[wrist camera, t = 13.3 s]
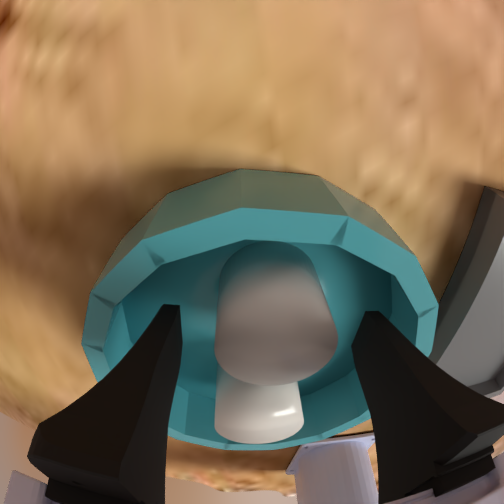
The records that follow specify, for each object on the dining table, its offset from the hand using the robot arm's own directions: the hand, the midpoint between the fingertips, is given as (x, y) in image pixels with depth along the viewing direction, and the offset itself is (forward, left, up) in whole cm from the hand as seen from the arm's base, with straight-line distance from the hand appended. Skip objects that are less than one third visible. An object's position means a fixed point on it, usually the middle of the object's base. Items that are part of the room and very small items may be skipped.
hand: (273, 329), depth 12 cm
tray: (-3, -18, -4) cm, 19 cm away
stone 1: (0, 0, -3) cm, 3 cm away
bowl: (-3, 0, -4) cm, 5 cm away
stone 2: (-6, 0, -3) cm, 7 cm away
